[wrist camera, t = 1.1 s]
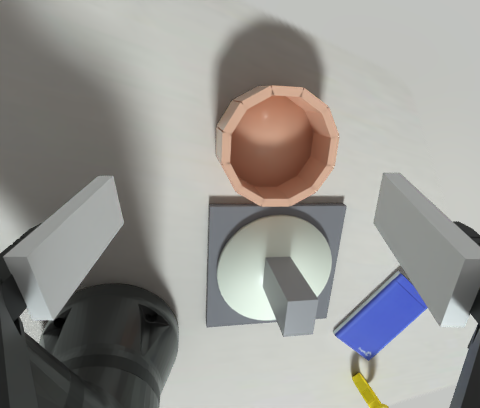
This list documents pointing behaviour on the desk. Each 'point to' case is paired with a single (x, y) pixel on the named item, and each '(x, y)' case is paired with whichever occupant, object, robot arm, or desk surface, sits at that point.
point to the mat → (238, 215)
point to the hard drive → (381, 317)
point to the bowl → (277, 144)
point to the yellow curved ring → (367, 392)
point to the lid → (276, 272)
